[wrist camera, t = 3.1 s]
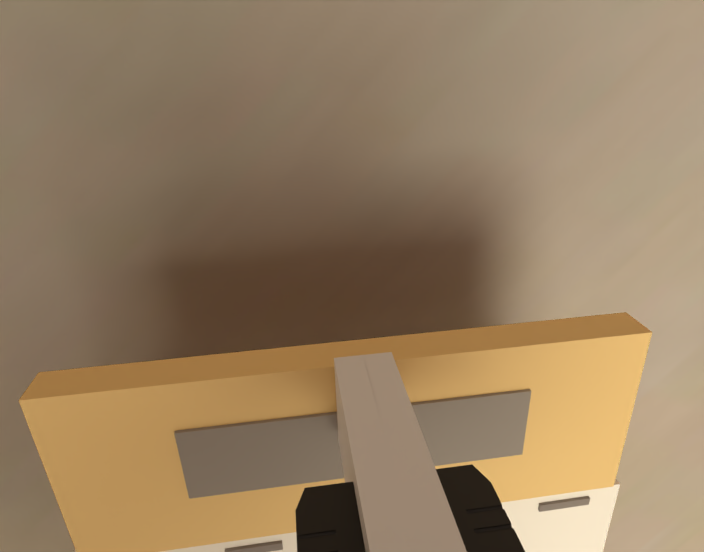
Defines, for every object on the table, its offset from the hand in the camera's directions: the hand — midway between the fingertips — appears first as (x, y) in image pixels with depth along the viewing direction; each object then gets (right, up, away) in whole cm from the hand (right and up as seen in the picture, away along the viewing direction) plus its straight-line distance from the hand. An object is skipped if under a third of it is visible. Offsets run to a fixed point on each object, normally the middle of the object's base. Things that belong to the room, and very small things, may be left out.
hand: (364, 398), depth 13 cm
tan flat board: (0, -1, +2) cm, 3 cm away
